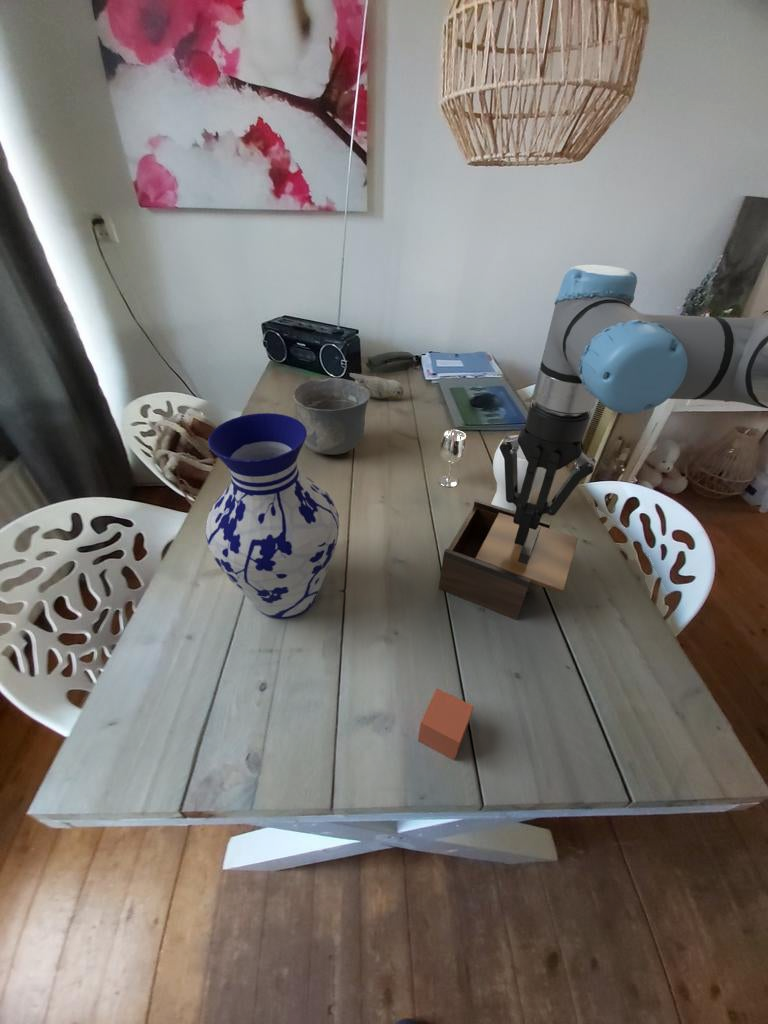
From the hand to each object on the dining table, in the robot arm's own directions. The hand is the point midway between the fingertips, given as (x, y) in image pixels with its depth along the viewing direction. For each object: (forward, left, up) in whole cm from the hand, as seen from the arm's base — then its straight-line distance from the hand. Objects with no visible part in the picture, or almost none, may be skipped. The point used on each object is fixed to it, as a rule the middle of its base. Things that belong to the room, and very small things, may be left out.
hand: (520, 539), depth 71 cm
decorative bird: (+53, +55, -10) cm, 77 cm away
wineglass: (+23, +20, -10) cm, 32 cm away
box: (0, +3, -10) cm, 10 cm away
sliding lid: (0, -1, -2) cm, 3 cm away
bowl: (+22, +50, -10) cm, 56 cm away
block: (-30, 0, -10) cm, 32 cm away
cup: (+20, +5, -10) cm, 23 cm away
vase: (-21, +32, -10) cm, 40 cm away
